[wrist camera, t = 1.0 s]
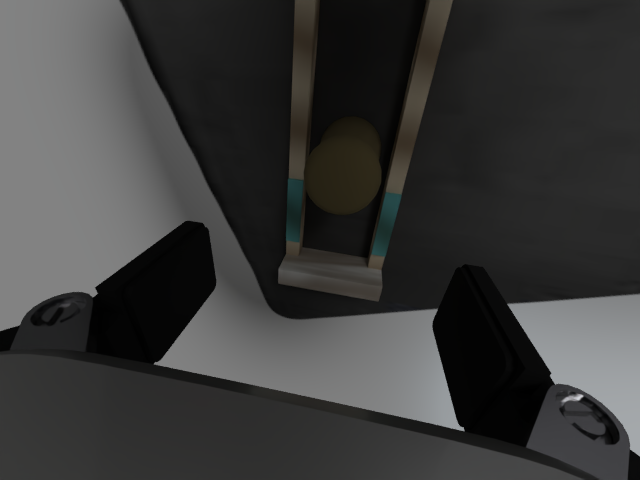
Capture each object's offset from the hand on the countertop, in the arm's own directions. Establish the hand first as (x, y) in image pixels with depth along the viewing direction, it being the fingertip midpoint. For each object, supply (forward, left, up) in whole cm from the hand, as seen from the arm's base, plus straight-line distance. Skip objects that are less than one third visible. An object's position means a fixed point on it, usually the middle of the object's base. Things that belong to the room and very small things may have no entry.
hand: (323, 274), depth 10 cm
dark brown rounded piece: (-1, 0, -19) cm, 19 cm away
